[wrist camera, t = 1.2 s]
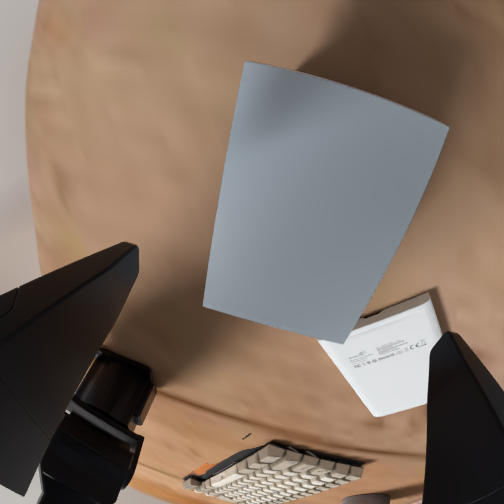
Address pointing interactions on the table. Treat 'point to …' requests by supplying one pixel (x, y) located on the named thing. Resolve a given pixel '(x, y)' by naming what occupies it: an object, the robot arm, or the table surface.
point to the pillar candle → (367, 499)
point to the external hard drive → (390, 355)
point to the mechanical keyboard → (272, 475)
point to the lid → (314, 200)
